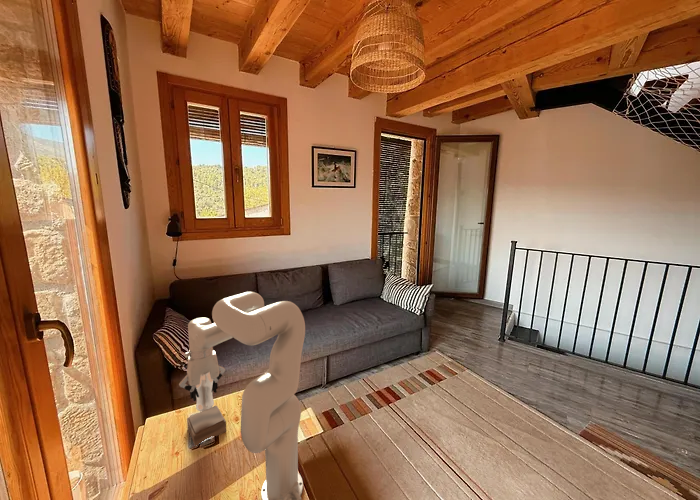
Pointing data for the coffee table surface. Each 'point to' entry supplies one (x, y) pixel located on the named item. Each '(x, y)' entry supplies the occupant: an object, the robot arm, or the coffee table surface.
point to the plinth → (206, 424)
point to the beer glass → (204, 392)
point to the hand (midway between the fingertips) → (204, 394)
